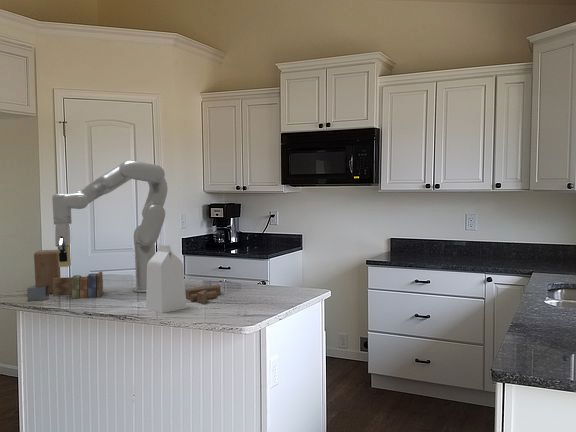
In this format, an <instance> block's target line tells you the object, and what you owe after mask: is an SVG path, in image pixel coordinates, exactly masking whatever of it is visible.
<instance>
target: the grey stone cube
mask: <svg viewBox="0 0 576 432" xmlns="http://www.w3.org/2000/svg"><path fill="white" fill-rule="evenodd" d="M26 290H27V291H26V292H27V302H38V301H39V302H40V301H47V300H48V299H49V298H50V294H49V285H36V286H35V285H30V286H28V287H27V289H26Z"/></svg>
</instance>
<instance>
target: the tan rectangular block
mask: <svg viewBox="0 0 576 432" xmlns="http://www.w3.org/2000/svg"><path fill="white" fill-rule="evenodd" d="M57 250H58V259H59V246H58V247H57ZM66 252H67V261H66V262H60V261H59V267H60V268H69V267H70V266H71V264H72V263H71V246H70V244H69V245H67V246H66Z"/></svg>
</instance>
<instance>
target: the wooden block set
mask: <svg viewBox="0 0 576 432" xmlns="http://www.w3.org/2000/svg"><path fill="white" fill-rule="evenodd" d="M185 293H186V301H187V300H188V301H189V302H192V303H193V302H197V303H198V304H199V305H200V304H201V305H204V304H206V303H207V302H208V300H212V299H213V300H214V299H217V298H218V296H220V295H221V285H219V284H216V285H208V286H199V287H191V288H190V287H189V288H185Z"/></svg>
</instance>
